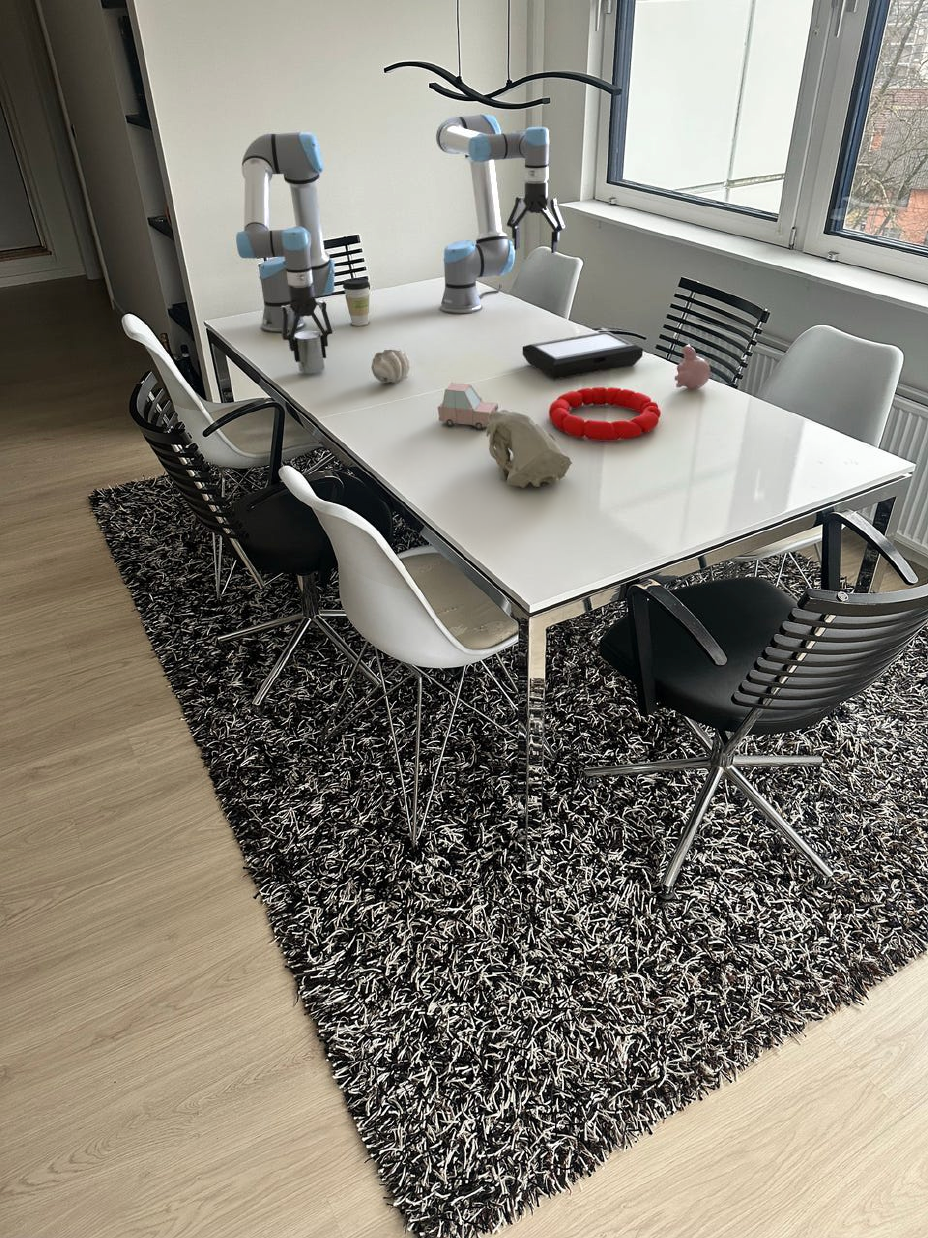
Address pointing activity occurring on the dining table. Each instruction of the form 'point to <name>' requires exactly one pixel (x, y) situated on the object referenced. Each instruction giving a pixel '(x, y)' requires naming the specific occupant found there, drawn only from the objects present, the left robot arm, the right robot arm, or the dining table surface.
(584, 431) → the decorative ring
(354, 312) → the coffee cup
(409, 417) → the dining table surface
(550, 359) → the electronic device
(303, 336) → the canister
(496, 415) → the animal skull
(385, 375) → the seashell
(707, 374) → the figurine
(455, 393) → the toy car
